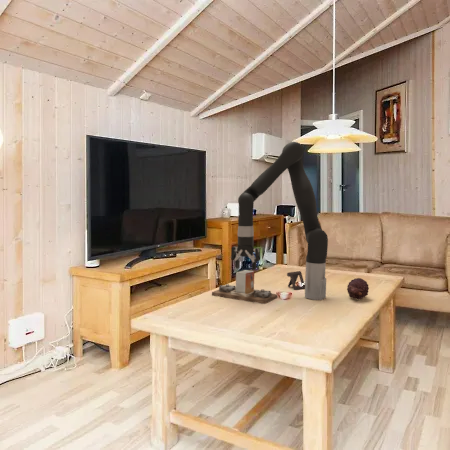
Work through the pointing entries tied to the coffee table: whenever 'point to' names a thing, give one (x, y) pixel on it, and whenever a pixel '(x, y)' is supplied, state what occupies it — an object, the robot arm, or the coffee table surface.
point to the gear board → (254, 296)
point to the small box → (245, 282)
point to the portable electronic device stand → (293, 279)
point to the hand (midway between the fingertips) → (245, 269)
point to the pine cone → (358, 288)
